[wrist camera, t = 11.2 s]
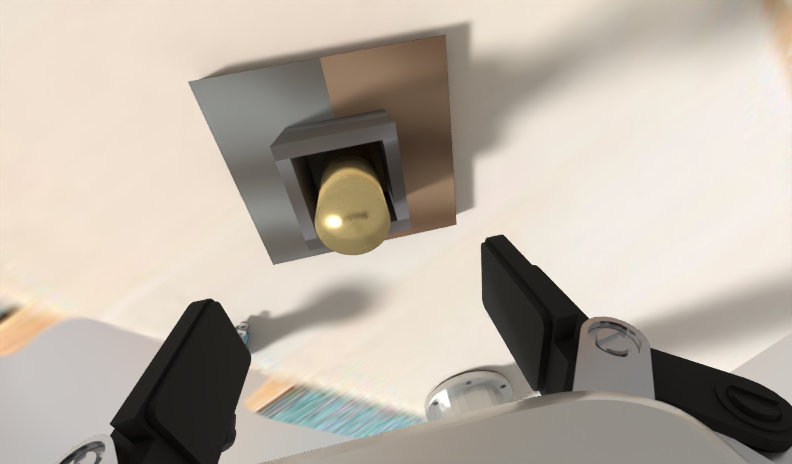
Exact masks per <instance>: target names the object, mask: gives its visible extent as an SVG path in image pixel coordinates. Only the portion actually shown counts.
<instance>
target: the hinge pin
mask: <svg viewBox="0 0 792 464" xmlns="http://www.w3.org/2000/svg"><path fill="white" fill-rule="evenodd" d="M315 229H316V232H317V235H318V237H319V238H320V240H321V241H322V242H323V243H324V244H325V245H326V246H327V247H328V248H330V249H331V250H333V251H335V252H338V253H341V254H345V255H359V254H364V253H367V252H369V251H372V250H373V249H375V248H376V247H378V246H379V245H380V244H381V243H382V242H383V241H384V240H385V238H386V236H387V234H388V232H389V229H390V214H389V211H388V208H387V204H386V201H385V198H384V195H383V191H382V188H381V185H380V182H379V179H378V175H377V172H376V169H375V166H374V162H373V159H372V157H371V155H370V153H369V152H368V150H367V149H366V148H365V147H363V146H362V145H355V146H350V147H345V148H340V149H335V150H330V151H328V153H327V155H326V157H325V161H324V167H323V173H322V179H321V185H320V191H319V198H318V204H317V210H316V216H315Z"/></svg>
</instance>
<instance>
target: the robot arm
mask: <svg viewBox="0 0 792 464" xmlns="http://www.w3.org/2000/svg"><path fill="white" fill-rule="evenodd" d="M481 266H482V300H483V304H484V307H485V309H486V311H487V313H488V314H489V316H490V318H491V320H492V321H493V323H494V325H495V326H496V328H497V330H498V332H499V333H500V335H501V337H502V338H503V340H504V342H505V344H506V345H507V347H508V349H509V350H510V352H511V354H512V356H513V357H514V359H515V361H516V363H517V364H518V366H519V368H520V369H521V371H522V373H523V375H524V376H525V378H526V380H527V381H528V383H529V385H530V386H531V388H532V389H533V390H534V391H538V390H539V392H540V394H541V395H542V396H537V397H532V398H528V399H523V400H519V401H514V402H510V401H511V399H512V395H513V393H512V388H511V386H510V384H509V382H508V381H507V379H506V378H505V377H503V376H502V375H500V374H498V373H495V372H490V371H475V372H469V373H464V374H461V375H458V376H455V377H453V378H451V379H449V380H447V381H445V382H444V383H442V384H441V385H439V386H438V387H437V388H436V389H434V391H433V392H432V393H431V394H430V395H429V397H428V399H427V400H426V403H425V413H426V417H427V420H428V421H429V422H425V423H421V424H417V425H412V426H408V427H404V428H400V429H396V430H392V431H388V432H384V433H380V434H376V435H372V436H368V437H364V438H359V439H355V440H351V441H347V442H343V443H339V444H335V445H331V446H327V447H323V448H319V449H315V450H311V451H307V452H303V453H299V454H295V455H291V456H287V457H283V458H280V459H275V460H271V461H268V462H263V463H260V464H792V406H791V405H790V404H789V403H788V402H787V401H786V400H784V399H783V398H782V397H780V396H779V395H778V394H776V393H775V392H773V391H772V390H770V389H768V388H766V387H765V386H763V385H761V384H759V383H756V382H754V381H751V380H749V379H746V378H743V377H740V376H737V375H734V374H731V373H728V372H725V371H721V370H718V369H715V368H712V367H709V366H706V365H703V364H699V363H696V362H693V361H690V360H687V359H684V358H681V357H678V356H674V355H671V354H668V353H665V352H662V351H659V350H656V349H652V348H650V346H649V343H648V340H647V339H646V338H645V336H644V335H643V334H642V333H641V332H640V331H639V330H637V329H636V328H635V327H634V326H632V325H630V324H628V323H626V322H624V321H621V320H618V319H615V318H610V317H594V318H591V319H589V318H588V317H587V316H586V315H585V314H584V313H583V312H582V311H581V310H580V309H579V308H578V307H577V306H576V305H575V304H574V303H573V302H572V301H571V300H570V298H569V297H568V296H567V295H566V294H565V293H564V292H563V291H562V290H561V289H560V288H559V287H558V286H557V285H556V284H555V283H554V282H553V281H552V280H551V279H550V278H549V277H548V276H547V275H546V274H545V273H544V272H543V271H542V270H541V269H540V268H539V267H538V266H536V265H532V264H531V263H530V262H529V261H528V260H527V259H526V258H525V257H524V256H523V255H522V254H521V253H520V252H519V251H518V250H517V249H516V248H515V246H514V245H513V244H512V243H511V242H510V241H509V240H508V239H507V238H506V237H505V236H504V235H497V236H493V237H488V238H486V240H485V242H484V243H482V244H481ZM250 363H251V355H250V352H249V350H248V349H247V347H246V345H245V344H244V342H243V340H242V339H241V337H240V335H239V334H238V332H237V330H236V329H235V327H234V326H233V324H232V322H231V321H230V319H229V317H228V316H227V314H226V312H225V311H224V309H223V307H222V306H221V304H220V303H219V302H215V301H214V300H213V299H205V300H201V301H196V302H192V303H191V304H190V305H189V306H188V307H187V309H186V310H185V312H184V313H183V315H182V316H181V318H180V319H179V321H178V322H177V324H176V325H175V327H174V328H173V330H172V331H171V333H170V334H169V336H168V337H167V339H166V340H165V342H164V343H163V345H162V346H161V348H160V350H159V351H158V352H157V354H156V355H155V357H154V358H153V360H152V362H151V363H150V364H149V366H148V367H147V369H146V370H145V372H144V373H143V375H142V376H141V378H140V379H139V381H138V382H137V384H136V385H135V387H134V388H133V390H132V391H131V393H130V395H129V396H128V397H127V399H126V400H125V402H124V403H123V405H122V406H121V408H120V409H119V411H118V412H117V414H116V415H115V417H114V418H113V420H112V421H111V423H110V425H111V426H113V427H114V428H115V429H114V430H113V432H112V434H111V435H110V436H109V435H105V434H102V435H96V436H93V437H91V438H88V439H87V440H84V441H82V442H81V443H79V444H78V445H76V446H74V447H73V448H71V449H70V450H69V451H68V452H66V453H65V454H64V455H62V456H61V457H60V458H59V459H58V460H57V461H56V462H55V463H54V464H218V461H219V458H220V455H221V452H222V449H223V446H224V443H225V440H226V437H227V434H228V431H229V428H230V425H231V421H232V418H233V415H234V412H235V409H236V406H237V403H238V400H239V397H240V394H241V391H242V388H243V385H244V382H245V378H246V375H247V372H248V369H249V366H250Z"/></svg>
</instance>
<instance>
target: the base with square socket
mask: <svg viewBox="0 0 792 464" xmlns="http://www.w3.org/2000/svg"><path fill="white" fill-rule="evenodd" d="M188 83H189V85H190V87H191V89H192V91H193V94H194V96H195V98H196V100H197V102H198V104H199V106H200V109H201V111H202V113H203V115H204V117H205V119H206V121H207V124H208V126H209V128H210V130H211V132H212V134H213V136H214V139H215V141H216V143H217V145H218V147H219V149H220V151H221V154H222V156H223V158H224V160H225V162H226V164H227V166H228V169H229V171H230V173H231V175H232V177H233V179H234V181H235V184H236V186H237V188H238V190H239V192H240V194H241V196H242V199H243V201H244V203H245V205H246V207H247V209H248V211H249V214H250V216H251V218H252V220H253V222H254V224H255V226H256V229H257V231H258V233H259V235H260V237H261V239H262V241H263V244H264V246H265V248H266V250H267V252H268V254H269V256H270V259H271V261H272V263H273V265H275V264H279V263H284V262H288V261H293V260H297V259H302V258H306V257H311V256H316V255H320V254H325V253H329V252H334V251H333V250H331V249H330V248H328V247H327V246H326V245H325V244H324V243H323V242H322V241H321V240H320V238H319V237H318V235H317V232H316V229H315V216H316V210H317V204H318V198H319V191H320V185H321V179H322V173H323V167H324V161H325V157H326V155H327V153H328V151H330V150H335V149H340V148H345V147H350V146H355V145H362V146H363V147H365V148H366V149H367V150H368V152H369V153H370V155H371V157H372V159H373V162H374V166H375V169H376V172H377V175H378V179H379V182H380V185H381V188H382V191H383V195H384V198H385V201H386V204H387V208H388V211H389V214H390V229H389V232H388V234H387V236H386V238H385V240H388V239H393V238H397V237H402V236H407V235H411V234H416V233H420V232H425V231H429V230H434V229H438V228H443V227H448V226H452V225H456V208H455V192H454V175H453V158H452V141H451V124H450V107H449V90H448V73H447V56H446V40H445V35H441V36H435V37H430V38H424V39H419V40H413V41H408V42H402V43H397V44H391V45H386V46H381V47H375V48H370V49H364V50H359V51H353V52H348V53H342V54H337V55H331V56H326V57H321V58H315V59H310V60H304V61H299V62H293V63H288V64H282V65H277V66H271V67H266V68H260V69H255V70H250V71H244V72H239V73H233V74H228V75H222V76H217V77H211V78H206V79H200V80H195V81H189V82H188Z"/></svg>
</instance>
